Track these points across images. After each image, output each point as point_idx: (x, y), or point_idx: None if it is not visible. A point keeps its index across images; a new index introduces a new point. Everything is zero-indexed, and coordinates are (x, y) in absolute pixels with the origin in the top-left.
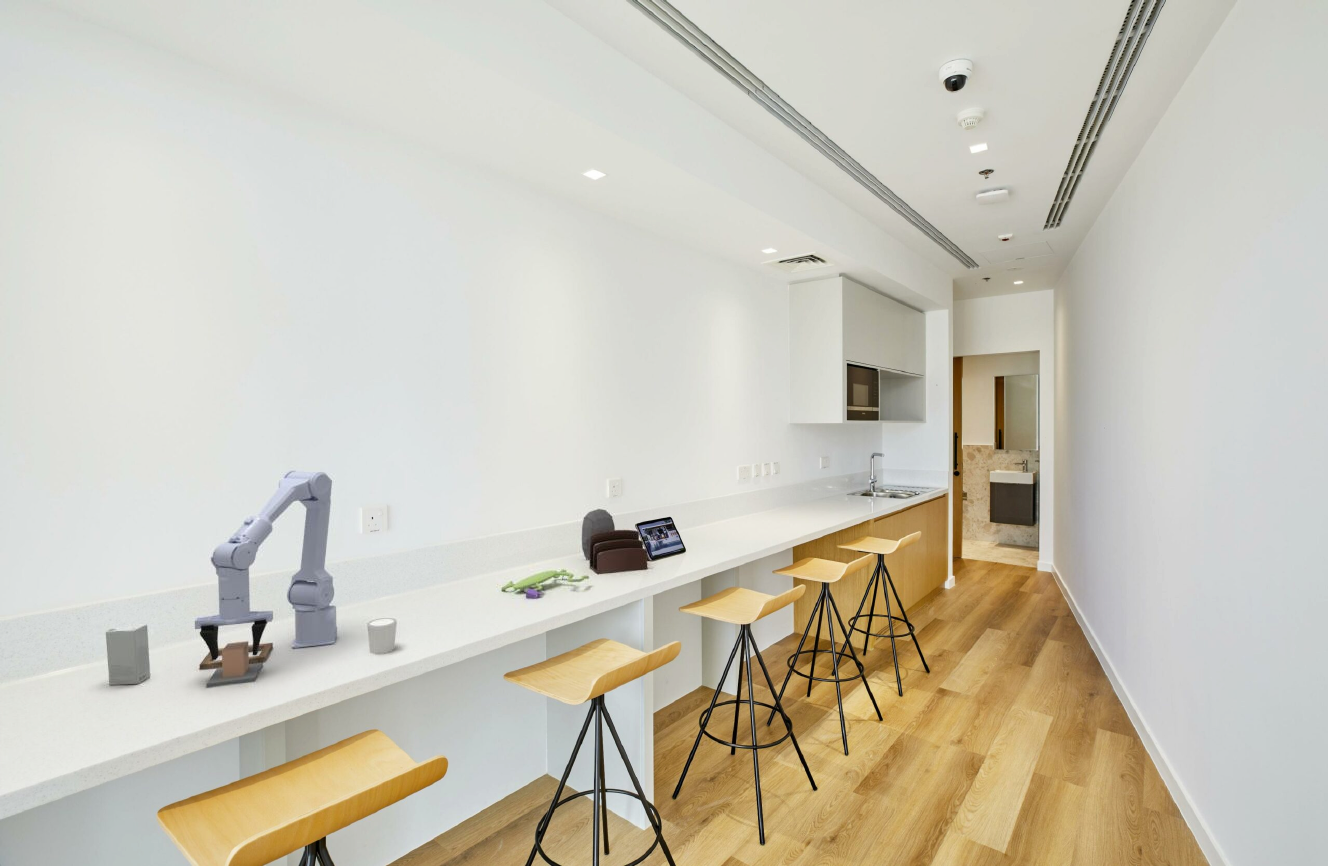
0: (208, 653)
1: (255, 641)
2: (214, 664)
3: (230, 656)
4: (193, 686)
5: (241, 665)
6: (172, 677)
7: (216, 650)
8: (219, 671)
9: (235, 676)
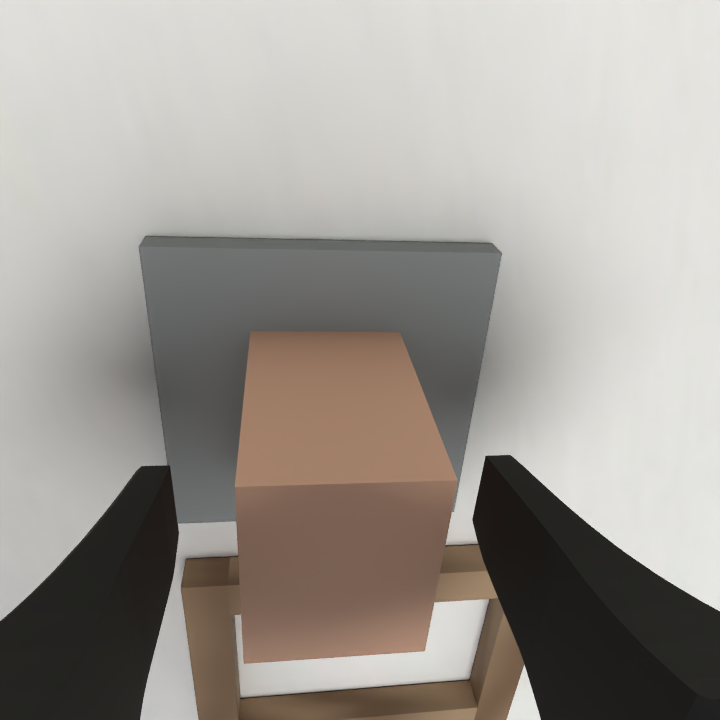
0: (515, 687)
1: (87, 574)
2: (474, 563)
3: (363, 434)
4: (572, 300)
5: (263, 377)
6: (673, 481)
7: (507, 544)
8: None
9: (309, 329)
